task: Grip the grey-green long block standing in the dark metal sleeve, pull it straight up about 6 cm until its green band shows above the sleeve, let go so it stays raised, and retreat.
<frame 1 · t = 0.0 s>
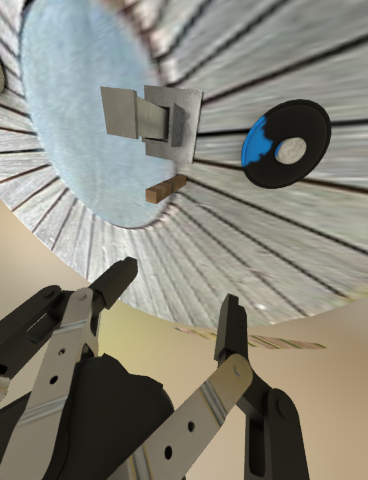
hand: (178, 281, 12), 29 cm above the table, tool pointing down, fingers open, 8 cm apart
grey-green long block: (150, 122, 24), point 9 cm above the table, slide at 0.0 cm
banded wooden rod: (182, 179, 36), on the table
stand base: (171, 128, 31), on the table
aerosol can: (263, 149, 28), on the table
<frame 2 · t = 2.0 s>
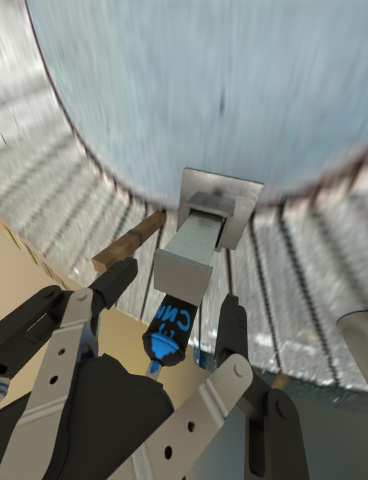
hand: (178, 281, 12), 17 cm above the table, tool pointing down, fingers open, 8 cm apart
grey-green long block: (200, 236, 18), point 9 cm above the table, slide at 0.0 cm
banded wooden rod: (161, 216, 30), on the table
stand base: (212, 211, 25), on the table
aerosol can: (190, 280, 37), on the table
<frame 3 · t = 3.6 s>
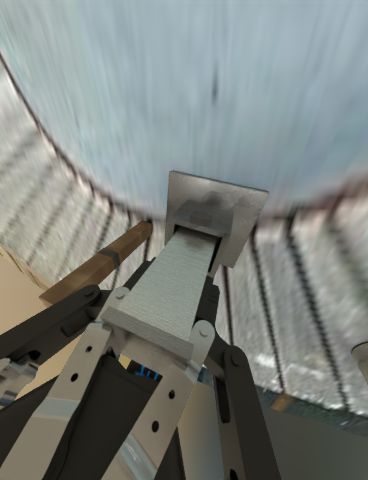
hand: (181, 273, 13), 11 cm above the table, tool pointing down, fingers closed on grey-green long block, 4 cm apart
grey-green long block: (187, 261, 14), point 9 cm above the table, slide at 0.0 cm, touching gripper
banded wooden rod: (147, 227, 25), on the table
stand base: (206, 222, 21), on the table
aerosol can: (183, 296, 33), on the table
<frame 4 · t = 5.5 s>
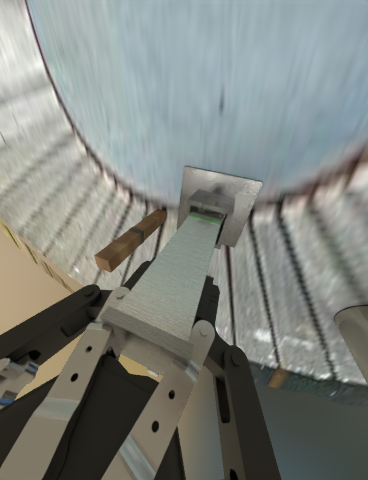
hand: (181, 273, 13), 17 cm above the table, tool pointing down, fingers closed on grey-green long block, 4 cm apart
grey-green long block: (187, 261, 14), point 15 cm above the table, slide at 5.9 cm, touching gripper
banded wooden rod: (161, 214, 30), on the table
stand base: (212, 208, 26), on the table
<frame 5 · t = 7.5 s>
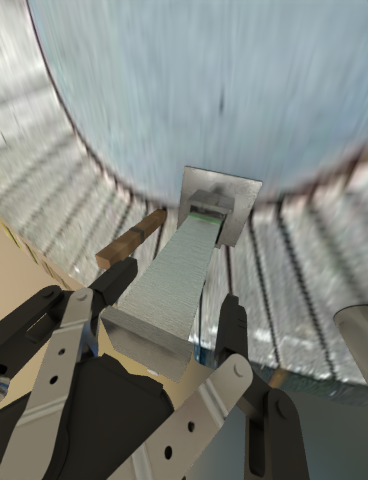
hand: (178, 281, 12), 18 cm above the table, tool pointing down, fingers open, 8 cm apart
grey-green long block: (187, 261, 14), point 15 cm above the table, slide at 6.0 cm
banded wooden rod: (161, 214, 30), on the table
stand base: (212, 208, 26), on the table
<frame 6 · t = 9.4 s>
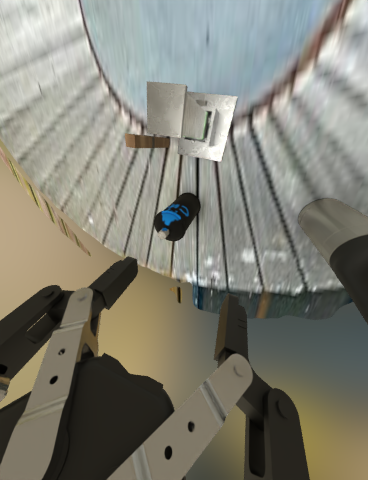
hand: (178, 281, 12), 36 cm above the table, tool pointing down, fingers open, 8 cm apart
grey-green long block: (185, 120, 23), point 15 cm above the table, slide at 6.0 cm
banded wooden rod: (166, 142, 39), on the table
stand base: (204, 129, 35), on the table
aerosol can: (188, 205, 47), on the table
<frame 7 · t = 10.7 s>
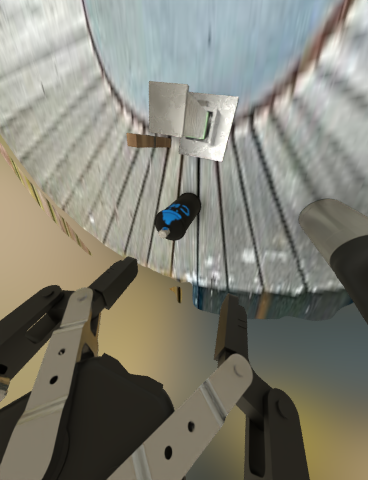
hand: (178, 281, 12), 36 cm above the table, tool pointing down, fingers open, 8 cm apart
grey-green long block: (186, 120, 23), point 15 cm above the table, slide at 6.0 cm
banded wooden rod: (167, 142, 39), on the table
stand base: (205, 129, 35), on the table
aerosol can: (189, 204, 47), on the table
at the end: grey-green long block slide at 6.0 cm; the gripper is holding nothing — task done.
